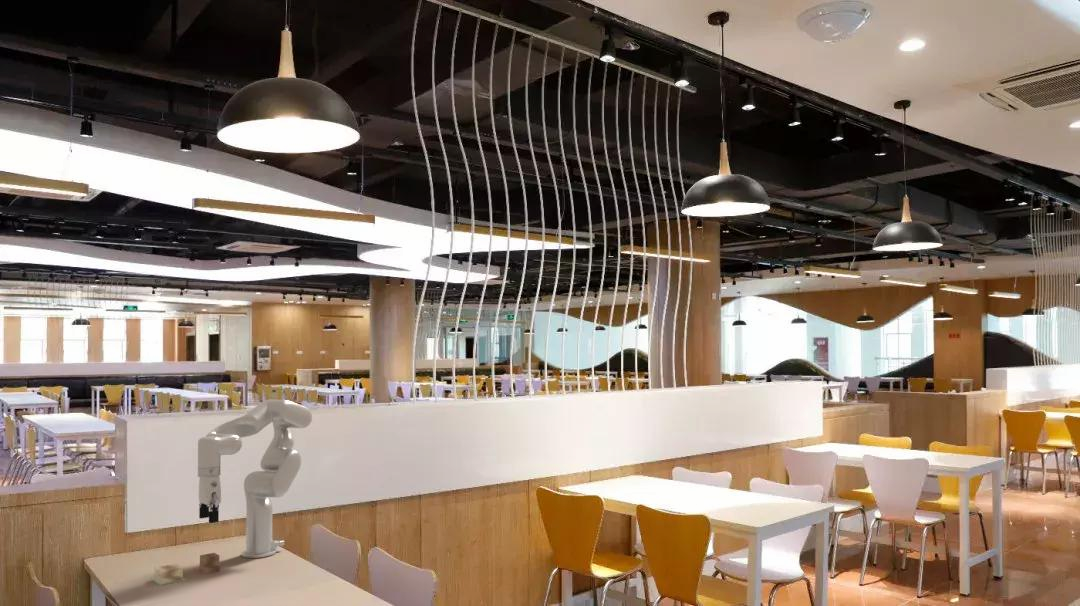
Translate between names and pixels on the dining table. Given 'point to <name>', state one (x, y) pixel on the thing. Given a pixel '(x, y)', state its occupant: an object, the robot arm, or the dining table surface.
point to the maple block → (168, 573)
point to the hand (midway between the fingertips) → (208, 520)
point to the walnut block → (209, 563)
